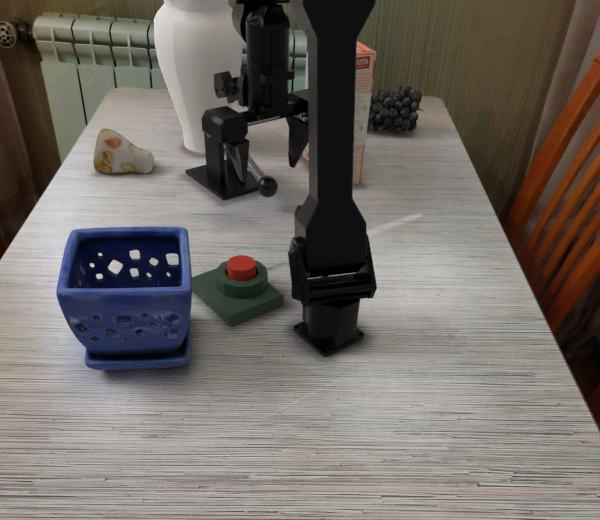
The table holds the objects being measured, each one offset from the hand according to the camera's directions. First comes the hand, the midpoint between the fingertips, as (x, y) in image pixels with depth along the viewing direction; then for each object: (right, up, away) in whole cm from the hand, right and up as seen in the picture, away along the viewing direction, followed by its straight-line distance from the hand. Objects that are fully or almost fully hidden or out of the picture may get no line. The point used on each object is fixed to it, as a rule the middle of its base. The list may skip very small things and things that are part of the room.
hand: (267, 173), depth 91 cm
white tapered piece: (-25, +5, +13) cm, 29 cm away
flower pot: (-14, -28, -20) cm, 37 cm away
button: (-3, -18, -14) cm, 23 cm away
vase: (-13, +13, +22) cm, 28 cm away
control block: (-3, -21, -13) cm, 25 cm away
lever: (-4, +3, +4) cm, 7 cm away
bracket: (-8, +2, +11) cm, 14 cm away
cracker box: (+10, +6, +16) cm, 20 cm away
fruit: (+22, +21, +32) cm, 44 cm away
